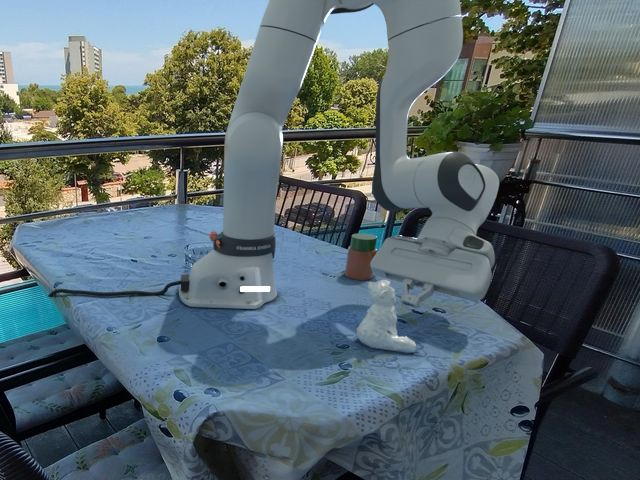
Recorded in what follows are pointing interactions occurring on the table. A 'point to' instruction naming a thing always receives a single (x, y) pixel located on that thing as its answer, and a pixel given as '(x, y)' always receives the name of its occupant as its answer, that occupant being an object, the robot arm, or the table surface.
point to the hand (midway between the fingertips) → (408, 304)
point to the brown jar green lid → (360, 256)
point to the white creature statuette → (383, 321)
